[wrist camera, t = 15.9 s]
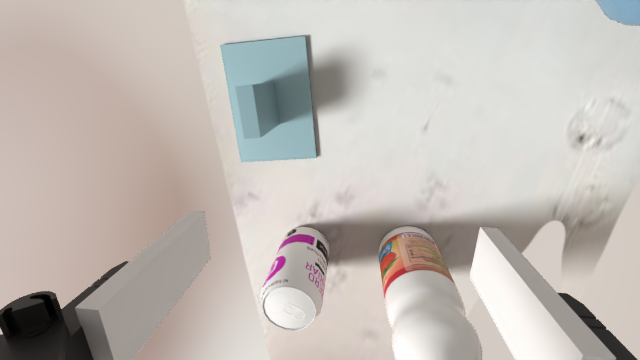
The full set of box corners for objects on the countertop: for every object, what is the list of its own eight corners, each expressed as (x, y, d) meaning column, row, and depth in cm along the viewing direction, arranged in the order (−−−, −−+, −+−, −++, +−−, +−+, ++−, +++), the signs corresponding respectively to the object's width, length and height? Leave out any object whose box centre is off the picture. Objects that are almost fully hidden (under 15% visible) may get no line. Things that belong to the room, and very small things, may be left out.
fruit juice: (440, 267, 51) (532, 473, 25) (385, 277, 53) (416, 480, 27) (429, 218, 48) (519, 393, 22) (371, 231, 50) (391, 406, 24)
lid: (223, 45, 43) (182, 37, 33) (306, 36, 42) (290, 25, 31) (243, 160, 49) (213, 184, 38) (316, 156, 47) (306, 179, 37)
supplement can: (274, 250, 53) (246, 314, 39) (298, 216, 51) (276, 271, 37) (313, 273, 54) (299, 344, 40) (338, 240, 51) (333, 304, 37)
